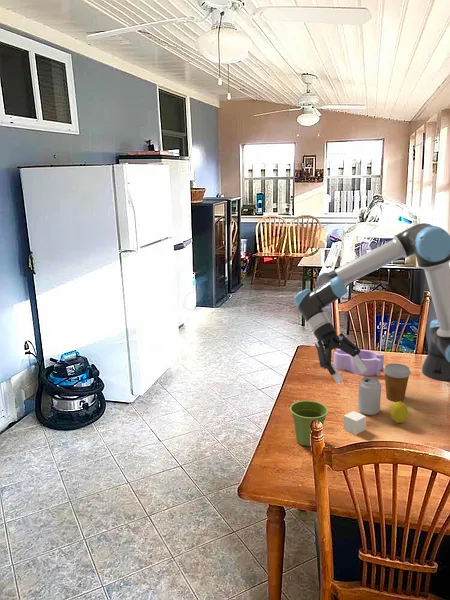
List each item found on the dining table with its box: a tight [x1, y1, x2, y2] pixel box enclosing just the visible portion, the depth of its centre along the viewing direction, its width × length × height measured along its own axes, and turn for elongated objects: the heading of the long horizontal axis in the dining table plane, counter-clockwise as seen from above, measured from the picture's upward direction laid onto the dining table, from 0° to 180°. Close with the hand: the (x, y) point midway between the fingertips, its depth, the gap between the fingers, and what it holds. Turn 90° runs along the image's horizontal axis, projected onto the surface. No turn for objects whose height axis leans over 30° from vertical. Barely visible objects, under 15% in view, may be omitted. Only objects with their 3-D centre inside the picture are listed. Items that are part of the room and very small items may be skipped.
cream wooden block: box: [342, 410, 367, 436], centre depth 163 cm, size 5×5×5 cm
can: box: [357, 376, 382, 416], centre depth 174 cm, size 8×8×12 cm
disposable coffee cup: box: [382, 362, 412, 402], centre depth 184 cm, size 10×10×12 cm
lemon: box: [389, 401, 409, 424], centre depth 166 cm, size 6×6×8 cm
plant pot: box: [289, 400, 329, 447], centre depth 156 cm, size 12×12×11 cm
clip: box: [333, 348, 385, 377], centre depth 212 cm, size 20×12×7 cm, turn 62°
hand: (352, 376), depth 178 cm, fingers open, 13 cm apart
